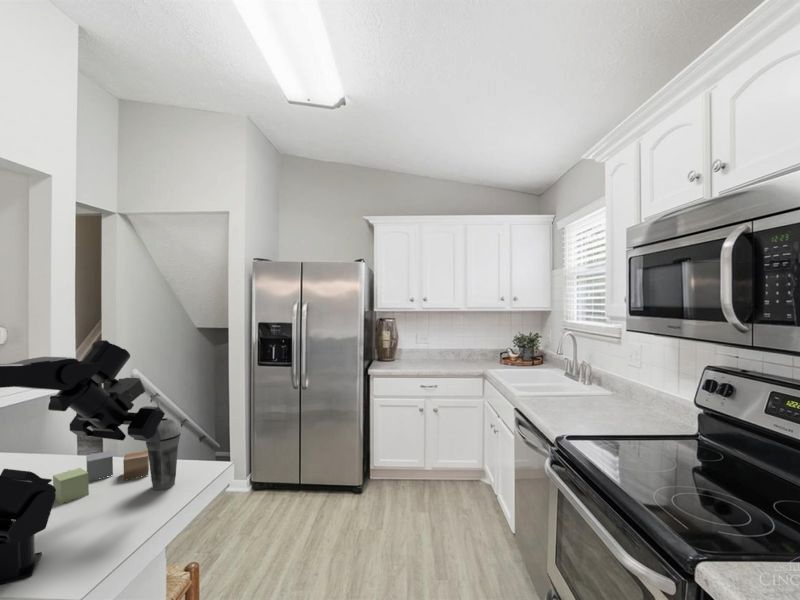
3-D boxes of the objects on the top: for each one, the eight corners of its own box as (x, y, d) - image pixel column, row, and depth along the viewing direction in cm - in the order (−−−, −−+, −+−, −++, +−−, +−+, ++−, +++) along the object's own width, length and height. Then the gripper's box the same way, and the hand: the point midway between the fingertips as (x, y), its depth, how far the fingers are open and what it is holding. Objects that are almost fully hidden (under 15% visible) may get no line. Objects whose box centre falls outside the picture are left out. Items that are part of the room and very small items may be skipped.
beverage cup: (188, 480, 99) (187, 397, 99) (163, 494, 92) (162, 404, 92) (164, 477, 101) (162, 395, 101) (137, 491, 94) (136, 403, 94)
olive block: (88, 495, 93) (88, 472, 93) (60, 504, 88) (60, 481, 88) (80, 489, 95) (80, 467, 95) (53, 498, 91) (52, 475, 91)
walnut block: (148, 476, 102) (147, 455, 102) (123, 480, 100) (123, 460, 100) (148, 468, 106) (148, 449, 106) (125, 473, 104) (125, 453, 104)
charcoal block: (113, 476, 102) (112, 456, 102) (87, 482, 99) (87, 461, 99) (111, 470, 106) (110, 450, 106) (86, 475, 103) (86, 455, 103)
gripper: (156, 368, 83) (196, 408, 94) (81, 366, 87) (128, 405, 98) (123, 419, 75) (170, 456, 86) (43, 414, 80) (97, 450, 90)
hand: (141, 439), depth 91 cm, fingers open, 9 cm apart
